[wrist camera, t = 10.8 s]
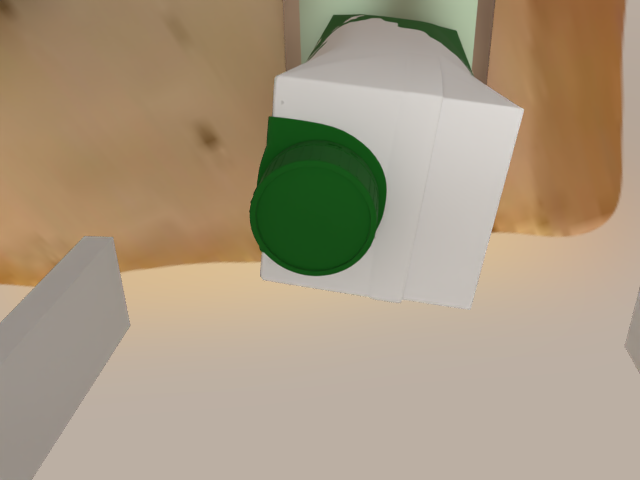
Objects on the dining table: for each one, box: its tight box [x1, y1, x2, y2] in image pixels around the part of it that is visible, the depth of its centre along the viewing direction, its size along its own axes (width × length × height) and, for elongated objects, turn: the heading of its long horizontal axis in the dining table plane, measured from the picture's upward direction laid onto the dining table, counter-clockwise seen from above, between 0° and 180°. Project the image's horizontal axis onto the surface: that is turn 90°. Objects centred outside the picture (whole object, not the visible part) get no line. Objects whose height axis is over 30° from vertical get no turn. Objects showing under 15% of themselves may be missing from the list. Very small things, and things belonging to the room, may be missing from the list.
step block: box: [283, 0, 495, 85], centre depth 39 cm, size 12×12×6 cm
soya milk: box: [249, 14, 524, 310], centre depth 28 cm, size 9×9×20 cm
